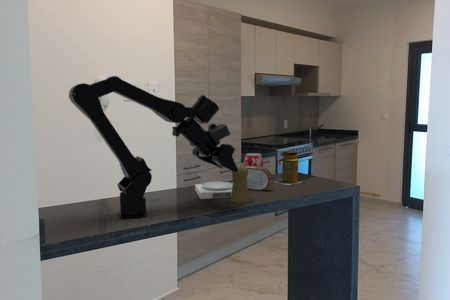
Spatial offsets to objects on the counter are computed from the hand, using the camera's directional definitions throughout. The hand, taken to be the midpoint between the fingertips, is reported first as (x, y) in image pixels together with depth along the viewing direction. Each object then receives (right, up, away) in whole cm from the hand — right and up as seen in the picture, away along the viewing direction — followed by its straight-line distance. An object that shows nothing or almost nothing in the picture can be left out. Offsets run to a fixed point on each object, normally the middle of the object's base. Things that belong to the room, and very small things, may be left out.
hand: (229, 169), depth 127 cm
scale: (-4, -9, +14) cm, 17 cm away
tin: (+8, -8, +20) cm, 23 cm away
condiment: (+23, -7, +32) cm, 40 cm away
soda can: (+9, -8, +25) cm, 28 cm away
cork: (+3, -10, +3) cm, 11 cm away
